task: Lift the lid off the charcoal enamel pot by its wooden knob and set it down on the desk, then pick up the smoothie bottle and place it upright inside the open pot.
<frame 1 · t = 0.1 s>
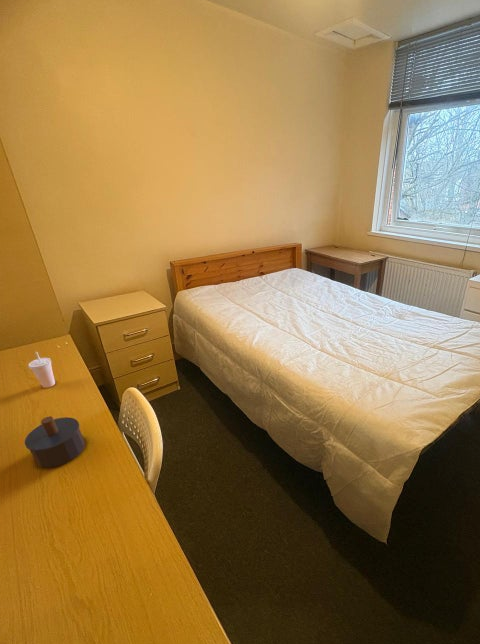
smoothie: (49, 385, 116), on the table
lid: (53, 434, 86), point 6 cm above the table, touching pot
pot: (61, 451, 89), on the table
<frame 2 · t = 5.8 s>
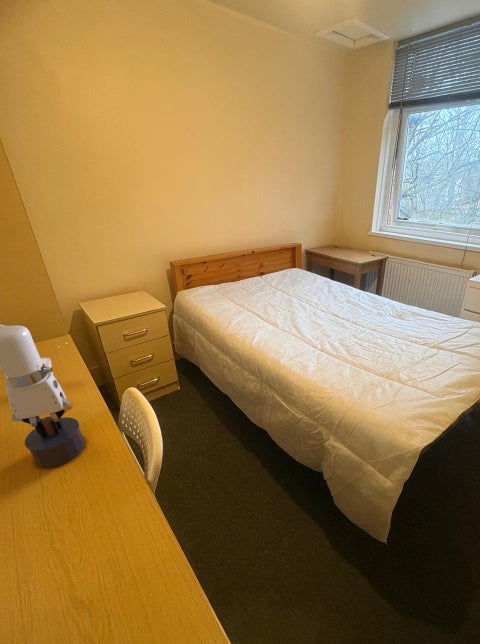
hand: (52, 431, 86), 7 cm above the table, tool pointing down, fingers closed on lid, 2 cm apart
lid: (53, 434, 86), point 7 cm above the table, touching gripper, pot
everything else where it was.
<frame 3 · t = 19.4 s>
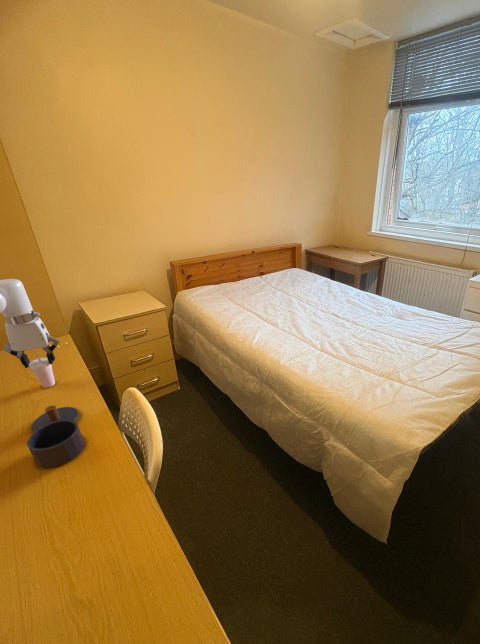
hand: (40, 363, 112), 9 cm above the table, tool pointing down, fingers closed on smoothie, 6 cm apart
smoothie: (49, 385, 116), on the table, touching gripper
lid: (56, 421, 99), point 1 cm above the table
when the fingers open (10 cm above the table, at t = 28.7 s): smoothie stays where it is, resting on pot.
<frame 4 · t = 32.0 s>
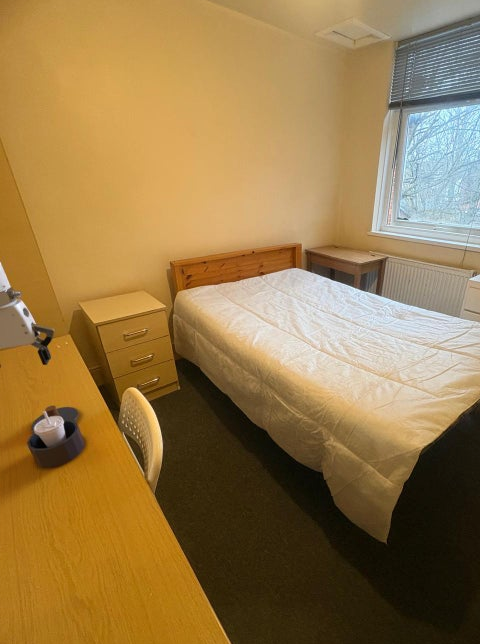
hand: (22, 366, 76), 28 cm above the table, tool pointing down, fingers open, 9 cm apart
smoothie: (60, 450, 89), resting on pot
everything else where it was.
at the end: lid inside the target area (0.1 cm from its centre), point 0.6 cm above the table; smoothie 0.1 cm off-centre in the pot, point 0.3 cm above the pot's base; smoothie tilted 0° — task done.
